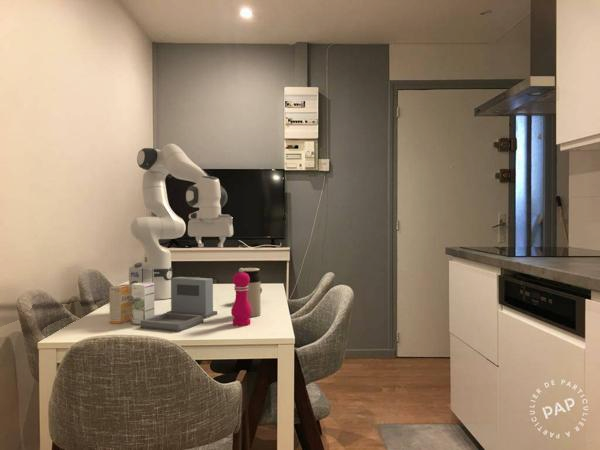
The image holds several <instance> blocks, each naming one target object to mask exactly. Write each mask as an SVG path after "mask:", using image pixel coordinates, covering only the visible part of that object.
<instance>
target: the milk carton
mask: <svg viewBox="0 0 600 450" xmlns="http://www.w3.org/2000/svg"><path fill="white" fill-rule="evenodd" d="M139 282H146V283H154V263H152V262H147V261H140V262H136V263H134V264H133V265H132V266H129V267H128V284H129V285H132V284H135V283H139Z"/></svg>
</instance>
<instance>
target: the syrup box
mask: <svg viewBox="0 0 600 450" xmlns="http://www.w3.org/2000/svg"><path fill="white" fill-rule="evenodd" d="M155 313H156V312H155V300H154V283H146V282H139V283H135V284H132V319H131V321H132V325H138V326H141V320H144V319H148V318H151V317H154V316H156V315H155Z"/></svg>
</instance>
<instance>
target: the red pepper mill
mask: <svg viewBox="0 0 600 450" xmlns="http://www.w3.org/2000/svg"><path fill="white" fill-rule="evenodd" d="M243 271H244V269H243V267H240V268H239V269H238V272H236V273H235V274H234V275H233V277H232V282H233V284H234V286H233V288H234V289H233V290H234V291H235V300H234V302H233V304H232V306H231V312H230V313H231V316H232V317H233V318H232V325H233V326H235V327H246V326H249V325H250V324H251V317H249V316H250V315H251V313H252V309H251V306H250V304H249V301H248V298H247V290H248V286H247V285H248V283H249V282H250V277H249V275H248V274H247V273H244V272H243Z"/></svg>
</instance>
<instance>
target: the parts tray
mask: <svg viewBox="0 0 600 450" xmlns="http://www.w3.org/2000/svg"><path fill="white" fill-rule="evenodd" d="M203 323H204V318H203V316H200V315H188V314H177V313H167V312H164V313H161V314H158V315H155V316H154V317H151V318H148V319H144V320H141V325H140V329H148V330H155V331H156V330H157V331H167V332H175V333H180V332H182V331H185V330H189V329H190V328H192V327H193V328H194V327H196V326H198V325H202V324H203Z"/></svg>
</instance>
